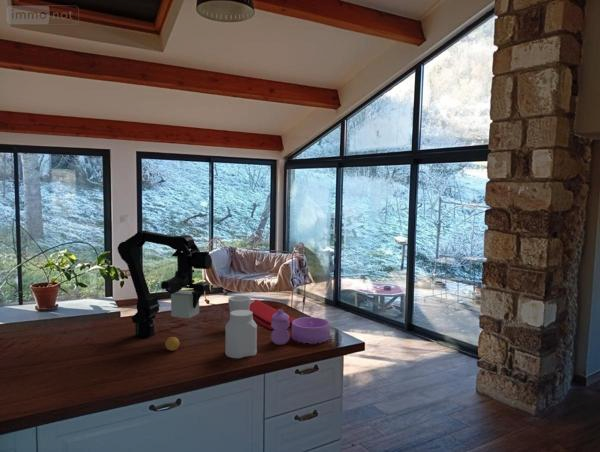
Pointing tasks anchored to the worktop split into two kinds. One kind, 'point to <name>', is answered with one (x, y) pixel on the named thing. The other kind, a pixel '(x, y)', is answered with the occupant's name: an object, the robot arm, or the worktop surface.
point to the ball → (172, 343)
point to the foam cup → (239, 303)
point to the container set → (299, 329)
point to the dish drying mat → (264, 314)
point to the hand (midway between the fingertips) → (185, 307)
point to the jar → (241, 334)
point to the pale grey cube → (183, 304)
